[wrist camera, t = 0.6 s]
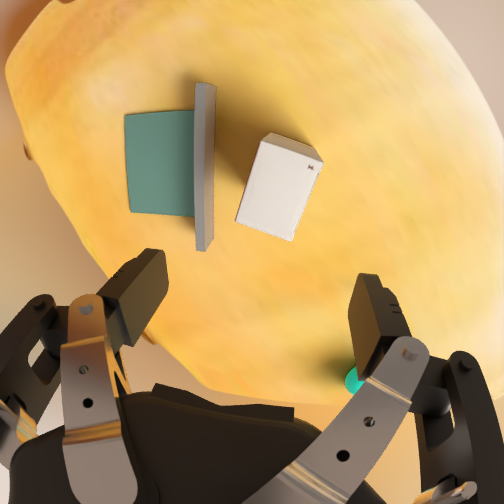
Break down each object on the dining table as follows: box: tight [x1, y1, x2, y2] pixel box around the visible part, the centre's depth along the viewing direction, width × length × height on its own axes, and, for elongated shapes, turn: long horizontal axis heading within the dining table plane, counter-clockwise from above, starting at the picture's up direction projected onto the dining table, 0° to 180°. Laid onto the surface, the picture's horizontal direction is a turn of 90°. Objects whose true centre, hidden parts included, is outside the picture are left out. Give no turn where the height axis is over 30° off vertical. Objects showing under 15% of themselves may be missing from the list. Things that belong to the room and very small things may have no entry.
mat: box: [125, 110, 195, 217], centre depth 33 cm, size 14×11×1 cm
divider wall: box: [194, 83, 216, 252], centre depth 31 cm, size 20×1×4 cm, turn 177°
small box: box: [235, 132, 324, 242], centre depth 27 cm, size 8×6×10 cm
